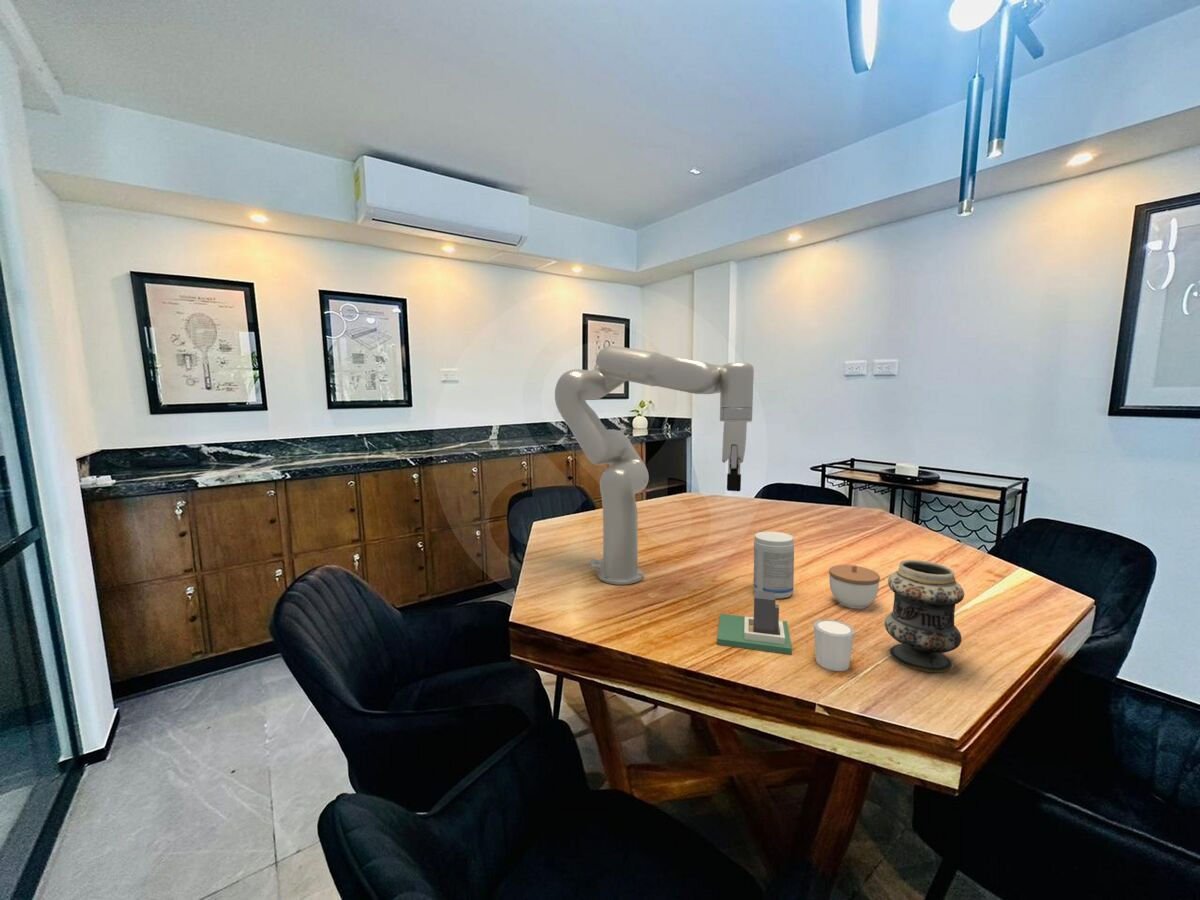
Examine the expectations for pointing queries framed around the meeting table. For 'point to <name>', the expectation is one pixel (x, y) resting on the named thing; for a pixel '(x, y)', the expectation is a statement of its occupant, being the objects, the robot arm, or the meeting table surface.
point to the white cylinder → (833, 644)
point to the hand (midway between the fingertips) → (733, 490)
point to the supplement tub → (774, 563)
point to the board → (752, 635)
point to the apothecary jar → (924, 615)
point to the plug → (765, 613)
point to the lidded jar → (854, 585)
